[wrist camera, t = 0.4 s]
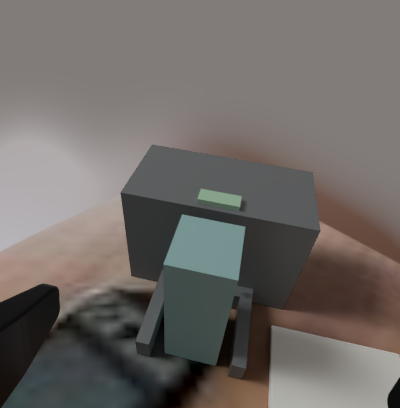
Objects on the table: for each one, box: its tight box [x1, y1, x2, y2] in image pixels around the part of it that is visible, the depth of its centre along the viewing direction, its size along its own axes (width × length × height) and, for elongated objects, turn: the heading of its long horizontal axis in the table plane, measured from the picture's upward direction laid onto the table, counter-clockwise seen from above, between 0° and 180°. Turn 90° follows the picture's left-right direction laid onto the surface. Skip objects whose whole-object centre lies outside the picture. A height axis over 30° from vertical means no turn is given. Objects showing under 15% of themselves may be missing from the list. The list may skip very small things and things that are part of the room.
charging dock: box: [121, 145, 320, 379], centre depth 24 cm, size 14×14×10 cm
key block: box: [163, 214, 245, 366], centre depth 21 cm, size 4×4×11 cm
